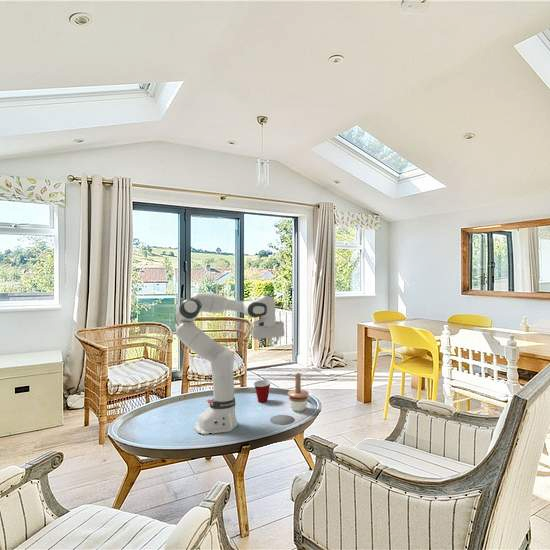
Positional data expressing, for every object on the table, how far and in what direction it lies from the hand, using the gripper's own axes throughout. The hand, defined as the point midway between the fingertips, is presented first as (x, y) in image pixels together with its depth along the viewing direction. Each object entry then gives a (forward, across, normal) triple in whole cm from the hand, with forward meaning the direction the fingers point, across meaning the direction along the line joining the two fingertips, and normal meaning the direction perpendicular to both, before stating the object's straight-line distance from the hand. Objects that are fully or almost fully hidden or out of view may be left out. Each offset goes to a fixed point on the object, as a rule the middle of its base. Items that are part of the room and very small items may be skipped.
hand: (268, 345), depth 221 cm
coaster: (+37, +2, +21) cm, 43 cm away
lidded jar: (+37, -13, +12) cm, 41 cm away
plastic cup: (+37, 0, -11) cm, 39 cm away
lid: (+28, -13, +12) cm, 33 cm away
